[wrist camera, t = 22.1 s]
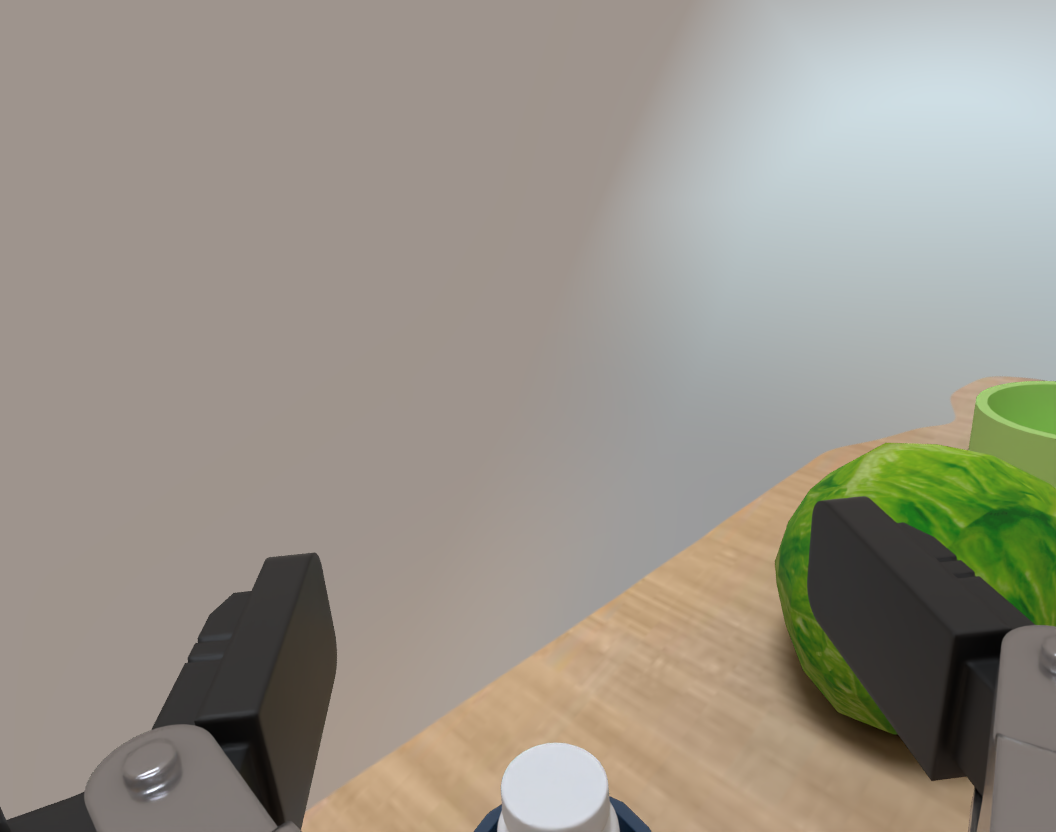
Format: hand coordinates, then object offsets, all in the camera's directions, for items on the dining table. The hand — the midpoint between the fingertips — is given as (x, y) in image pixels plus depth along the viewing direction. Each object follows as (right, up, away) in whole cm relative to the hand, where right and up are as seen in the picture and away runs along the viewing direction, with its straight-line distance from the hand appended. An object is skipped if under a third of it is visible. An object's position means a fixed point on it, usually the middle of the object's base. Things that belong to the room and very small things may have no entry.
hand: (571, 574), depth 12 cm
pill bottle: (+1, -19, +19) cm, 27 cm away
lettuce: (+24, -12, +34) cm, 43 cm away
